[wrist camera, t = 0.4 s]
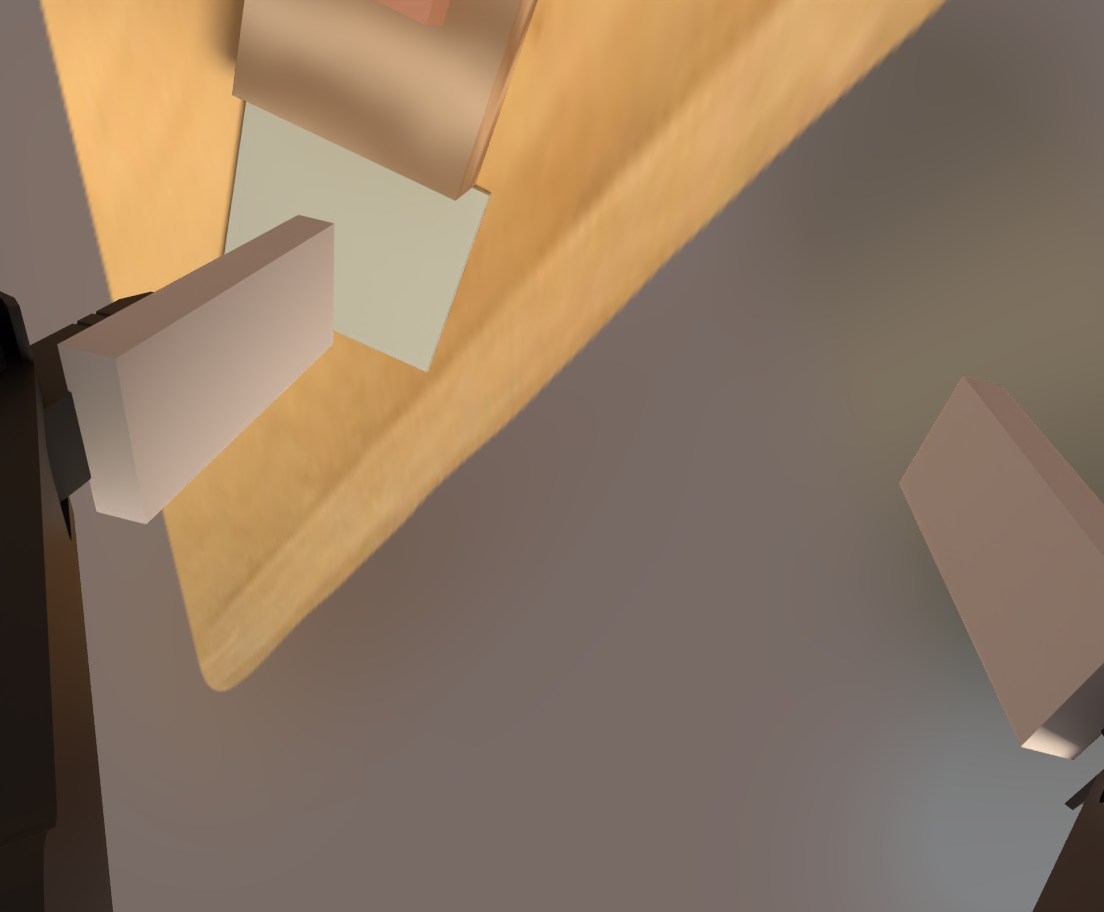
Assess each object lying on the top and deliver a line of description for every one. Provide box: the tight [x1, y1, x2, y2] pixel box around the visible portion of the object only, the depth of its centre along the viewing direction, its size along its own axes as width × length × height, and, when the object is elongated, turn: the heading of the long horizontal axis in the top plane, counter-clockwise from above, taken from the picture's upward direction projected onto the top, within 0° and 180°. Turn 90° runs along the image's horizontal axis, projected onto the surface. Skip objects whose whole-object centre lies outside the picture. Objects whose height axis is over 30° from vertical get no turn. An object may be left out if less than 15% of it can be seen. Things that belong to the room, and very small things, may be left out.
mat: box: [224, 102, 491, 372], centre depth 41 cm, size 12×14×1 cm
